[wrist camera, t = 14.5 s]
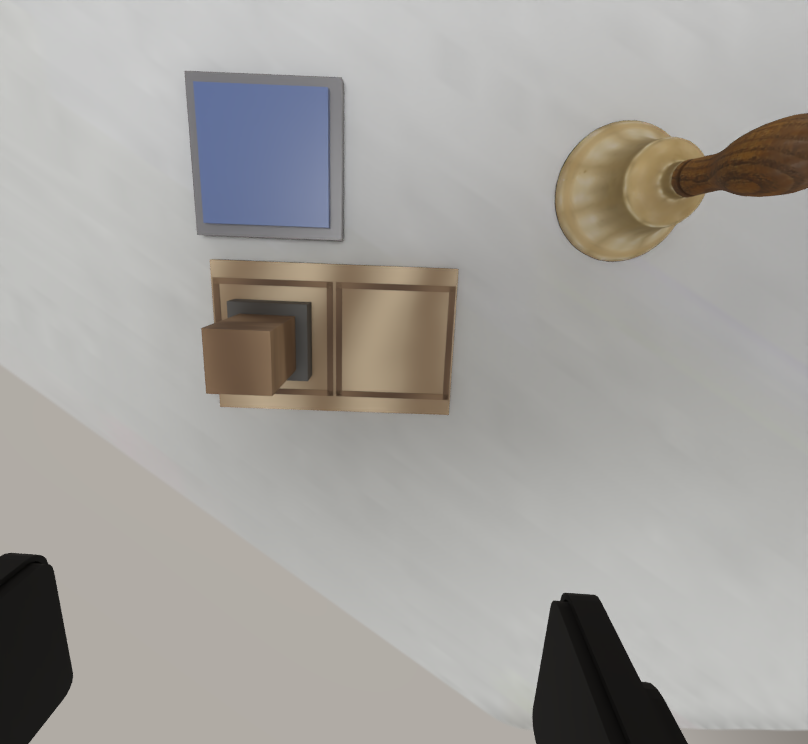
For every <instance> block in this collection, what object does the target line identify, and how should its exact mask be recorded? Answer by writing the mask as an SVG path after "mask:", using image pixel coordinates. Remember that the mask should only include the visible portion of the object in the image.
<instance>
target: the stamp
mask: <svg viewBox="0 0 808 744" xmlns="http://www.w3.org/2000/svg"><path fill="white" fill-rule="evenodd" d="M227 317H228V318H227V319H224V320H222V321H219V322H217V323H214V324H211V325H209V326H206V327H204V328H201V329H202V342H203V356H204V370H205V384H206V393H207V394H231V395H255V396H273V395H274V394H275V393H276V392H277V390H278V389H279V388H280V387H281V386H282V385H283V384H284V383H285V382H286V380H287V381H308V380H309V379H310V378H311V376H312V302H298V301H276V300H253V299H232V300H229V301H227Z"/></svg>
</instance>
